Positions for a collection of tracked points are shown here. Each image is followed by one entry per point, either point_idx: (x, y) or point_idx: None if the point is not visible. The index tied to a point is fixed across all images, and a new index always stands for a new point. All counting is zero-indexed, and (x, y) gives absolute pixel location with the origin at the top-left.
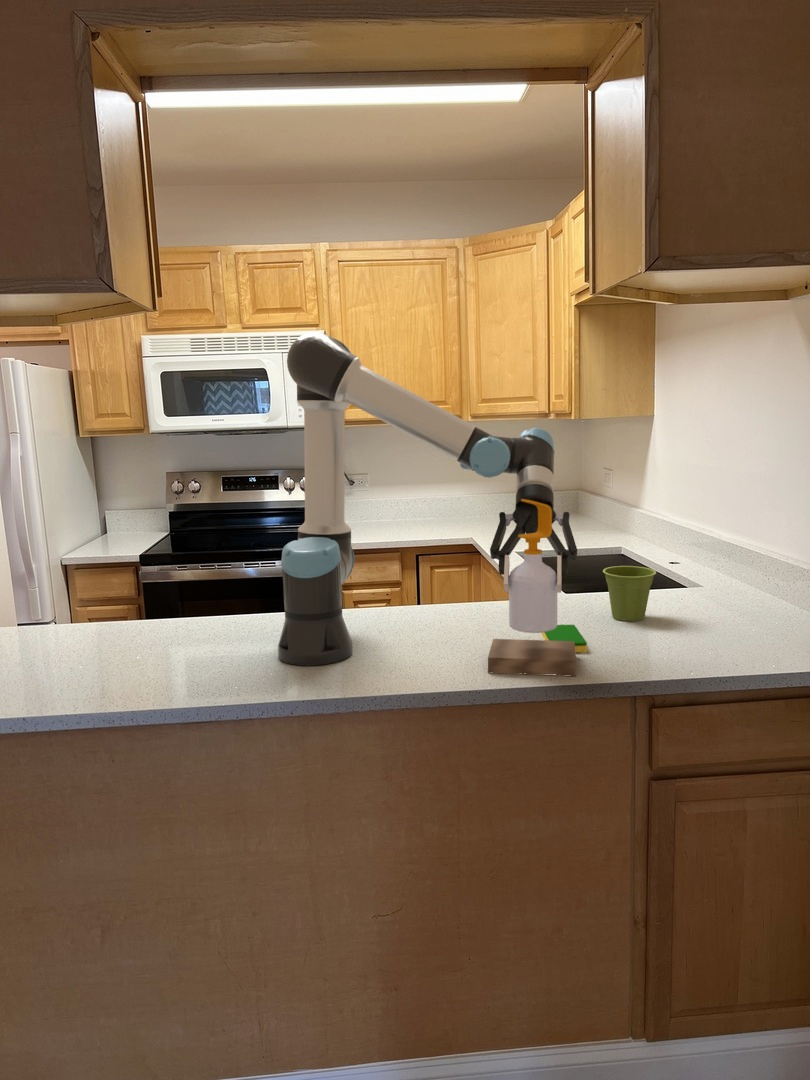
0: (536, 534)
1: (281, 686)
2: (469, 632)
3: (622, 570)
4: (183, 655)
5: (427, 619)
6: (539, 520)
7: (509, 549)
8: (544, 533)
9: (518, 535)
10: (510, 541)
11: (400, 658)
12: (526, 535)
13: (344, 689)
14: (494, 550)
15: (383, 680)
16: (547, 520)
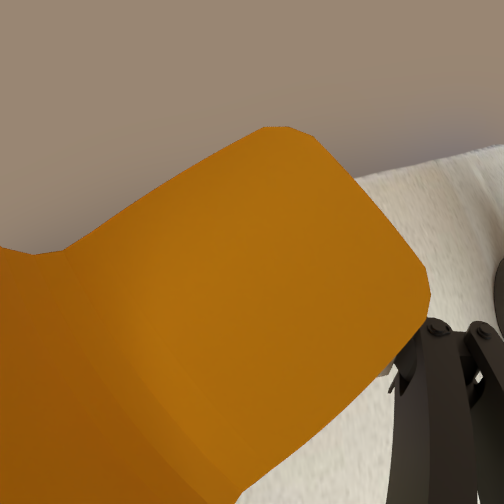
0: (216, 340)
1: (493, 189)
2: (369, 499)
3: None
4: None
5: None
6: None
7: (415, 383)
8: (98, 334)
9: (422, 268)
10: (445, 407)
11: (445, 317)
12: (340, 245)
13: (447, 182)
14: (475, 328)
15: (428, 216)
16: None
